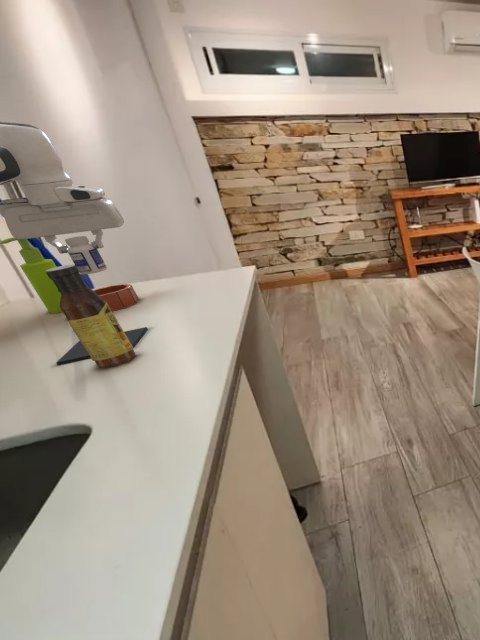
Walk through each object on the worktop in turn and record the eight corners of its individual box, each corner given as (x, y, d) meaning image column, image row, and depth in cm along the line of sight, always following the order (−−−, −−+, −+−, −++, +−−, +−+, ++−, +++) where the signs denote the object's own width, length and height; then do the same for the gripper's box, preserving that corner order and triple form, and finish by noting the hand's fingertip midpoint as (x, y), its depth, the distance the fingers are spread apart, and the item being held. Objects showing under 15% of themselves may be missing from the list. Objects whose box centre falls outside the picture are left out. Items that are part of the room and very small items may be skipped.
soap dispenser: (39, 314, 126) (-9, 240, 117) (70, 304, 132) (27, 233, 123) (54, 315, 124) (7, 240, 116) (85, 305, 130) (42, 233, 122)
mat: (57, 365, 96) (55, 362, 96) (80, 343, 106) (78, 340, 106) (132, 348, 101) (131, 346, 101) (147, 329, 111) (146, 326, 110)
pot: (85, 316, 122) (75, 300, 120) (99, 304, 130) (90, 289, 128) (132, 307, 126) (124, 291, 124) (143, 296, 134) (135, 281, 132)
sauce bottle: (142, 357, 97) (89, 264, 88) (103, 371, 92) (43, 274, 83) (130, 351, 100) (78, 260, 91) (91, 365, 95) (32, 270, 86)
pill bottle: (103, 267, 127) (86, 234, 123) (110, 269, 124) (93, 236, 120) (77, 273, 123) (58, 239, 119) (84, 275, 120) (64, 241, 116)
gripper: (-15, 202, 108) (20, 261, 114) (102, 190, 116) (129, 245, 122) (-1, 199, 113) (32, 255, 119) (110, 188, 121) (136, 241, 127)
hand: (82, 250), depth 121 cm, fingers closed on pill bottle, 5 cm apart
